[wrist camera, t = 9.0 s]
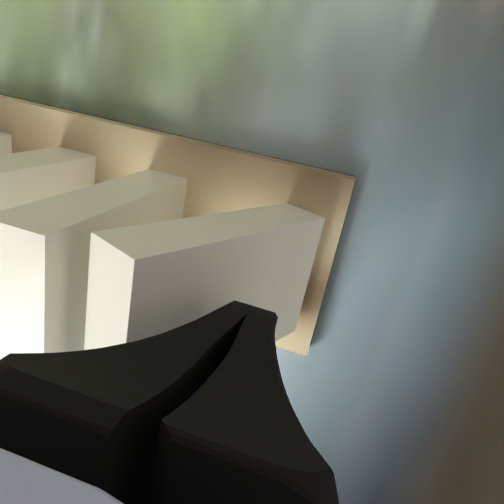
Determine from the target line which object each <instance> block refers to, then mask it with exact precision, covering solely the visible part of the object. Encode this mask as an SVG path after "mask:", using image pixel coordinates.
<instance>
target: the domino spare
mask: <svg viewBox="0 0 504 504" xmlns="http://www.w3.org/2000/svg"><path fill="white" fill-rule="evenodd" d="M324 221H325V218H324V217H321V216H319V215H316V214H314V213H311V212H309V211H306V210H304V209H301V208H299V207H296V206H293V205H291V204H288V203H284V204H277V205H270V206H263V207H256V208H249V209H243V210H236V211H229V212H222V213H215V214H209V215H202V216H195V217H188V218H181V219H175V220H168V221H161V222H154V223H147V224H140V225H134V226H127V227H120V228H113V229H106V230H100V231H93V232H91V239H90V256H89V273H88V290H87V307H86V324H85V341H84V350H89V349H97V348H103V347H108V346H113V345H119V344H124V343H129V342H133V341H137V340H141V339H145V338H148V337H152V336H155V335H158V334H161V333H164V332H167V331H170V330H172V329H175V328H177V327H179V326H182V325H184V324H187V323H189V322H192V321H194V320H196V319H198V318H200V317H202V316H204V315H207V314H209V313H211V312H212V311H214V310H216V309H218V308H220V307H222V306H224V305H226V304H228V303H230V302H232V301H234V300H235V301H239V302H242V303H245V304H249V305H252V306H255V307H259V308H262V309H265V310H269V311H272V312H275V313H276V315H277V316H278V320H277V324H276V328H275V342H276V341H277V340H279V339H281V338H283V337H285V336H287V335H288V334H290V333H292V332H294V331H295V329H296V325H297V321H298V317H299V314H300V310H301V306H302V303H303V299H304V295H305V292H306V288H307V284H308V280H309V277H310V273H311V269H312V266H313V262H314V258H315V255H316V251H317V247H318V243H319V240H320V236H321V232H322V229H323V225H324Z"/></svg>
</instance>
